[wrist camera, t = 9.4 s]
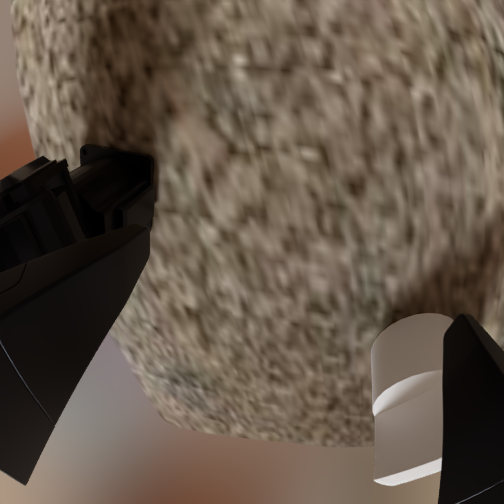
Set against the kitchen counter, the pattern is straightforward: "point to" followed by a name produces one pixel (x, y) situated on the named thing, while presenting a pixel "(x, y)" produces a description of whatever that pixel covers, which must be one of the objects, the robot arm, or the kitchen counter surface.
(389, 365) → the cylinder with rectangular tab
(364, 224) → the kitchen counter surface
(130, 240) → the robot arm
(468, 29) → the kitchen counter surface
